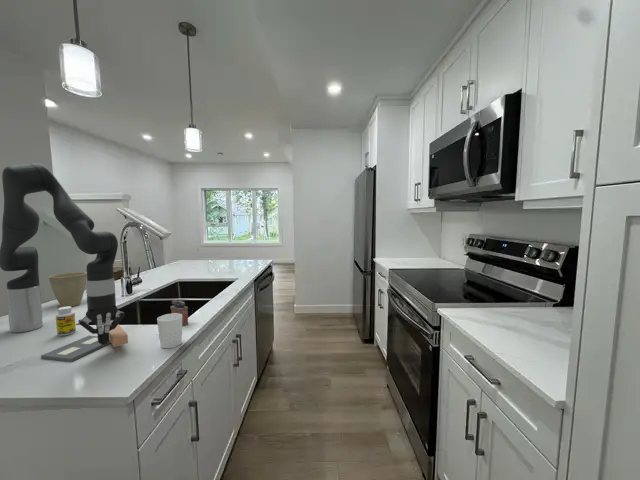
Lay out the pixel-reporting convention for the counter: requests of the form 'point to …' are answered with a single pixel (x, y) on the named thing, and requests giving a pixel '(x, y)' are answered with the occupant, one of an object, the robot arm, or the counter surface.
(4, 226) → the robot arm
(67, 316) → the supplement bottle
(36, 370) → the counter surface
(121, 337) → the swing bar
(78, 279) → the plant pot
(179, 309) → the lighter
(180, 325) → the white cup
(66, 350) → the gray base panel
